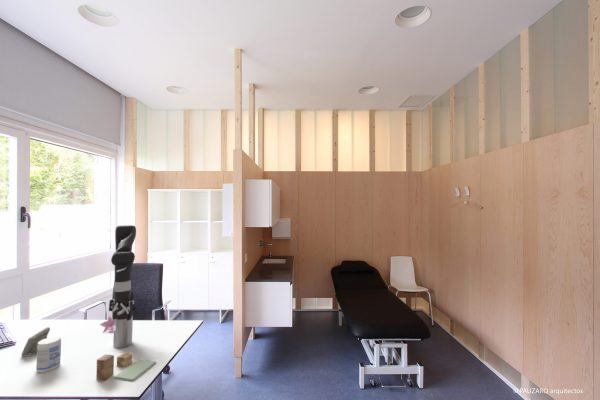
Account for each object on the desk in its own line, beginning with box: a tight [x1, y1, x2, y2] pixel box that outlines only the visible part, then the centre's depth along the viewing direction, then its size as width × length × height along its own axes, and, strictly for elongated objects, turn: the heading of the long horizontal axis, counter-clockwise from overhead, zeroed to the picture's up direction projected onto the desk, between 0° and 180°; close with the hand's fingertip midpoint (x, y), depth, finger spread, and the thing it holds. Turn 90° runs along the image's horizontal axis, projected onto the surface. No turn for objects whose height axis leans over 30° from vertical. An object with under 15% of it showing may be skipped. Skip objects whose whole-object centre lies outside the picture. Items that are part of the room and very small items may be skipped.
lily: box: [99, 315, 115, 334], centre depth 189 cm, size 12×12×10 cm
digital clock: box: [21, 326, 51, 357], centre depth 163 cm, size 16×9×11 cm, turn 1°
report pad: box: [113, 358, 157, 382], centre depth 143 cm, size 11×16×1 cm
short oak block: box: [116, 351, 133, 368], centre depth 149 cm, size 5×5×5 cm
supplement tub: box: [35, 335, 62, 373], centre depth 145 cm, size 10×10×15 cm
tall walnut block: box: [95, 354, 115, 382], centre depth 137 cm, size 5×5×10 cm
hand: (121, 319), depth 144 cm, fingers open, 8 cm apart
